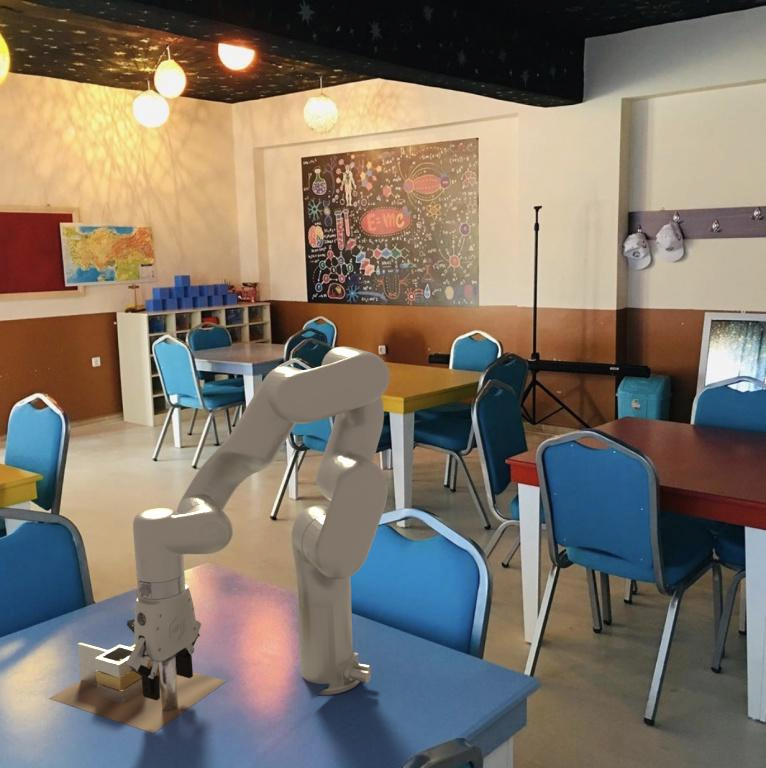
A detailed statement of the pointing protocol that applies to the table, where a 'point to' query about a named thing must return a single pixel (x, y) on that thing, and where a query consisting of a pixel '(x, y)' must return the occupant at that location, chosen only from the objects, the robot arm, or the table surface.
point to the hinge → (110, 671)
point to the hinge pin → (168, 684)
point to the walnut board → (139, 702)
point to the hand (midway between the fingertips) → (168, 685)
